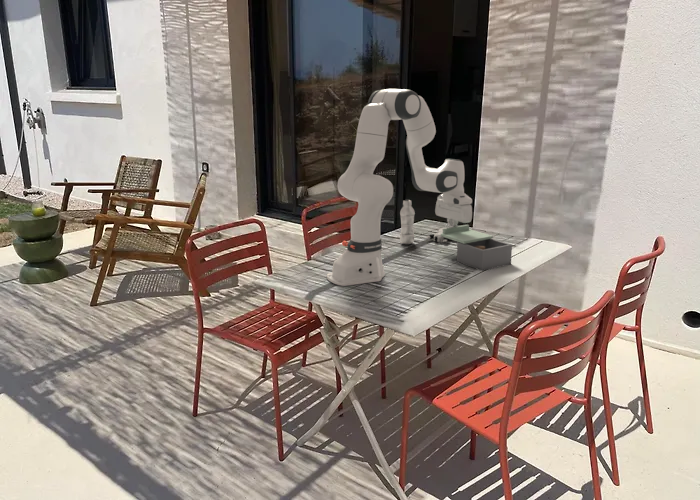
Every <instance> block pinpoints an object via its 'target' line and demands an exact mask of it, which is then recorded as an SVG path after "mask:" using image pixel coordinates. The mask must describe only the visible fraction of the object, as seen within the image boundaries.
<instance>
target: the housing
mask: <svg viewBox="0 0 700 500" xmlns="http://www.w3.org/2000/svg"><path fill="white" fill-rule="evenodd" d="M456 246H457V247H456V248H457V249H456V262H458V263H461V264H463V265H465V266H469V267H471V268H474V269H476V270H479V271H481V272H483V271H488V270H491V269H495V268H496V269H497V268H500V267H504V266H509V265H512V256H513V255H512V254H513V253H512V252H513V251H512V250H513V245H512V244H510V243H508V242H504V241H501V240H497V239H494V238H491V239H486V240H481V241H476V242H471V243H466V244H463V243H460V242H457V241H456ZM475 246H484V247H485V249H484V250H482V249H479V248H476V247H475Z"/></svg>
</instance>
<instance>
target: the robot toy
mask: <svg viewBox="0 0 700 500" xmlns="http://www.w3.org/2000/svg"><path fill="white" fill-rule="evenodd" d="M444 228H445V227H442V228H440V229H438V230H437V232H436V233H435V234H434V233H433V234H429V235H427V236H426V239H428V240H429V239H430V240H432V239H433V241H434V242H437V243H441V242H442V243H447V242H448V241H449V239H448V238H445V237H442V236H441V234H442V233H443V229H444Z"/></svg>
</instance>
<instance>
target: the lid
mask: <svg viewBox="0 0 700 500" xmlns="http://www.w3.org/2000/svg"><path fill="white" fill-rule="evenodd" d="M441 236H442V237H445V238H448V240H452V241H455V242H456V243H457V242H460V243H463V244H466V243H471V242H476V241H481V240H486V239H494V237H493V235H491V234H488V233H484V232H480V231H477V230H474V229H471V228H470V224H463V225H457V226H456V227H450V228H449V227H444V229H443V233H442V234H441Z"/></svg>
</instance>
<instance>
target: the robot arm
mask: <svg viewBox="0 0 700 500" xmlns="http://www.w3.org/2000/svg"><path fill="white" fill-rule="evenodd" d="M360 113H361V114H360V117H359V120H358V125H357V128H356V137H355V145H354V148H353V150H354V151H353V155H352V157H351V159H350V163H349V165H348V167H347V168H346V170H345V172H344V173H342V174H341V176H340V177H339V178H338V180H337V183H336V184H337V186H336V187H337V191H338V193H339V194H340V195H341V196H342V197H344V198H345V199H347V200H349V201H353V202H357V204H358V205H357V209H356V213H355V214H354V215H353V216H352V217H351V218H350V240H349V241H346V240H342V242H341V245H342V246H343V247H345V248H346V247H347V248H346V249H345V251H344V252H343V253H342V254H341V255H340V256H338V257H337V259H335V260H334V262H333V264H332V271H331V272H329V273H327V274H326V280H327V281H329V282H331V284H332V283H333V285H334V284H335V285H338V286H343V287H344V286H346V287H347V286H353V285H354V286H355V285H361V284H362V285H363V284H369V283H375V282H380V281H382V278H384V277H385V275H386V272H385V268H384V265H383V260H382V259H383V258H382V249H383V245H382V243H383V242H382V238H381V219H382V216H383V215H382V214H383V211H384V208H385V207H386V206H387V204H388V203H390V201H391V200H392V198H393V194H394V185H393V183H392V182H391V181H390V180H389V179H388V178H385V177H383V176H382V175H379V174H374V171H375V169H376V167H377V166H378V164H379V163H381V162H382V161H383V160H384V158H385V155H386V154H385V153H386V147H387V142H388V133H389V131H388V130H389V124H390V121H399V120H402V122H403V125H404V129H405V131H406V135H407V136H406V139H405V148H406V154H407V157H408V158H407V159H408V161H409V165H410V169H411V181H412V185H413V188H414V189H415V190H417V191H420V192H432V193H439V195H437V198H436V199H437V200H436V202H435V203H436V204H435V209H434V212H435V215H436V216H438V217H441V218H445V219H446V223H448V228H450V227H456V226H458V224H459V223H463V224H466V223H467V224H468V223H471V222H472V219H473V207H472V204H473V199H472V198H471V197H470V196H469V195H468V194H466V193H465V187H464V183H465V165H464V162H463V161H462V160H461V159H455V158H445V160H444V162H443V164H442V165H441V166H439V167H437V168H435V167H430V166H427V165H426V163H425V159H424V155H423V149H422V148H423V147H425V146H427V145H428V144H429V143H431V142H432V141H433V140H434V138H435V135H436V133H437V130H436V125H435V122H434V118H433V116H432V113H431V111H430V107H429V106H428V104H427V102H426V101H425V98H423V97H422V96H421V95H418V93H417V92H415V91H413V90H411V89H407V88H406V89H405V88H403V89H401V88H386V89H385V88H382V89H378V90H375V91H373V92H372V93H371V95H370V97H369V99H368V101H367V104H366V105H365V106H364V107H363V108H362V110H361V112H360ZM440 193H441V194H440Z"/></svg>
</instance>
